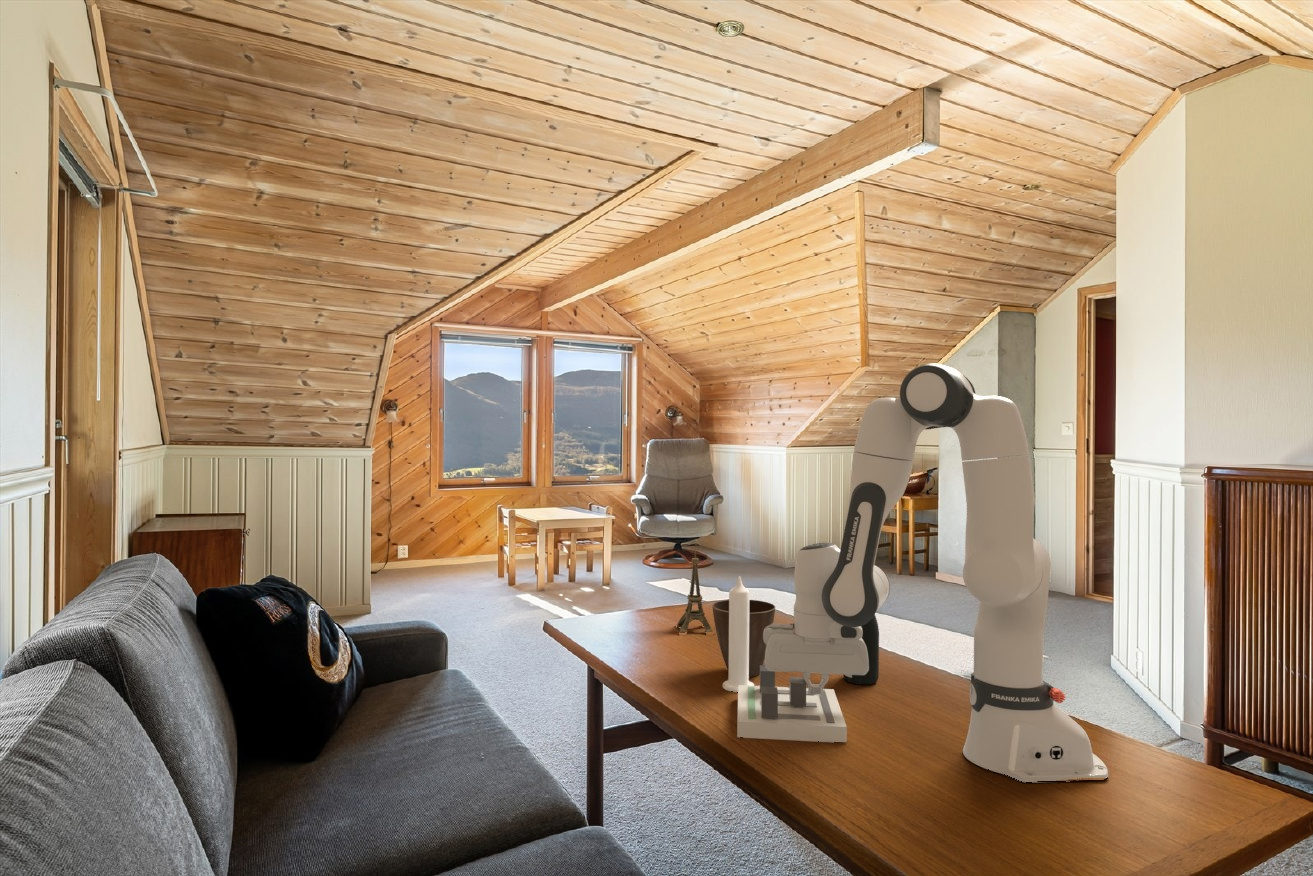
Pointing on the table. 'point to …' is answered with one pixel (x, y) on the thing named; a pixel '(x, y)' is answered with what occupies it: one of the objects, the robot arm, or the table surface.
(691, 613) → the eiffel tower
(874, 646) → the wine bottle
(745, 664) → the candle
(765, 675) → the handle
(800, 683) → the handle
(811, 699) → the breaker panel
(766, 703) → the handle
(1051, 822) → the table surface
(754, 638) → the plant pot
